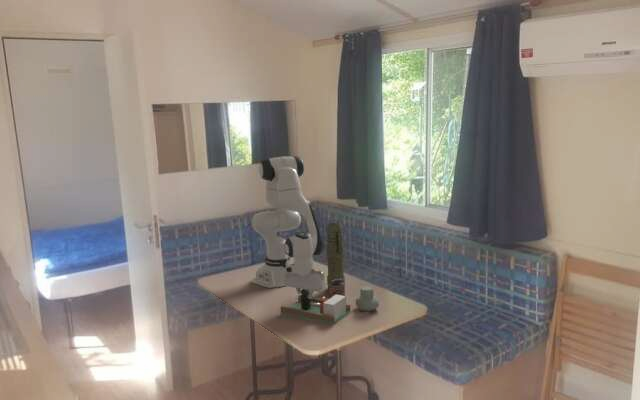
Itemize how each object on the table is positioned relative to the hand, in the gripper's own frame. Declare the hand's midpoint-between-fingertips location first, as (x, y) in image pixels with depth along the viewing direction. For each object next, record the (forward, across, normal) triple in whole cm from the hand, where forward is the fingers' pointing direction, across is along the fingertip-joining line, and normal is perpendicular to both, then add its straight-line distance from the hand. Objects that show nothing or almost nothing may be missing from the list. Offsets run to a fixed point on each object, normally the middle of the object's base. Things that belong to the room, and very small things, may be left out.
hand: (305, 297), depth 232 cm
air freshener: (+7, -24, -15) cm, 29 cm away
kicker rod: (+5, -4, 0) cm, 7 cm away
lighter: (+7, -6, -20) cm, 21 cm away
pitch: (+6, -5, 0) cm, 8 cm away
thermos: (+6, +1, -32) cm, 32 cm away
